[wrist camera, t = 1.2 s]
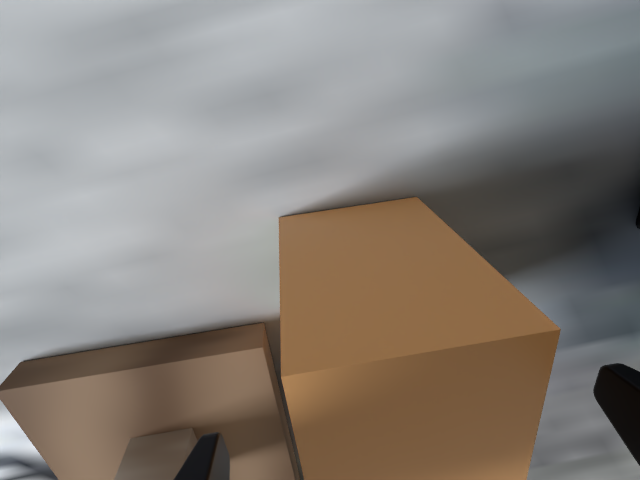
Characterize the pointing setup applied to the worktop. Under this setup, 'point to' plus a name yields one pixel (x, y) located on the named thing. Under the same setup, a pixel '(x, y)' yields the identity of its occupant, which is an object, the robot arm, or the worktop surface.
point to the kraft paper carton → (406, 349)
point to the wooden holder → (155, 407)
